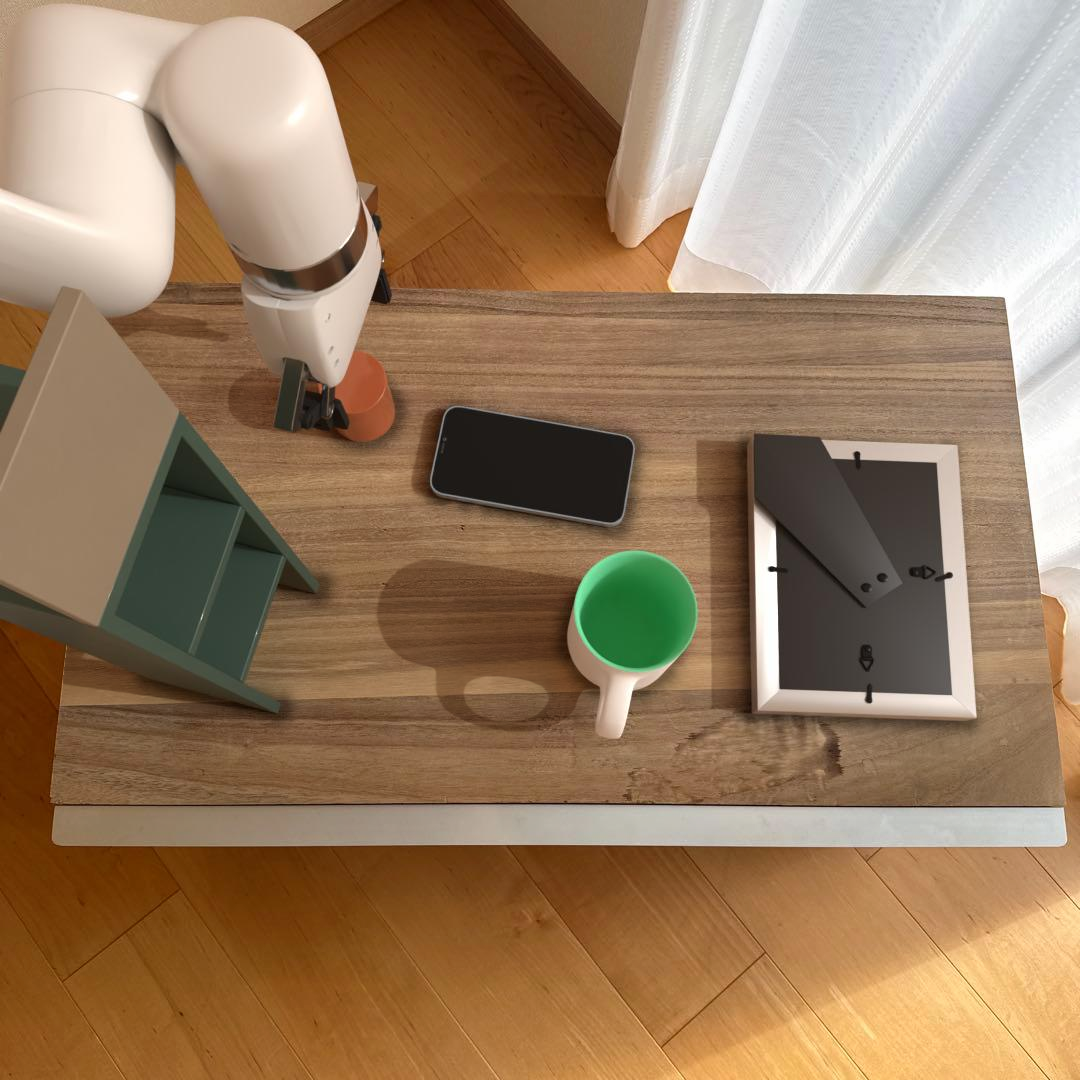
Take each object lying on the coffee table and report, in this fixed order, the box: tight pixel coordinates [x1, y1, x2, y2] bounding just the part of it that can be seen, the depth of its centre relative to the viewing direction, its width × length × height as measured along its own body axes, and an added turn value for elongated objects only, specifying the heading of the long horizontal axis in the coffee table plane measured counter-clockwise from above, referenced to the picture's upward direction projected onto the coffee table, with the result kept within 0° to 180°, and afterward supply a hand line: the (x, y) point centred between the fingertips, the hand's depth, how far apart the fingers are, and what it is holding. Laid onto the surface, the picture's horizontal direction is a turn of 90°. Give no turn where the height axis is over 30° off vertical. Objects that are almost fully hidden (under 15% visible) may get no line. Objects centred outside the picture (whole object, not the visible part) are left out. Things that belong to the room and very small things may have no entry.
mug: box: [566, 550, 699, 740], centre depth 75 cm, size 12×8×10 cm, turn 172°
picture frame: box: [746, 433, 978, 722], centre depth 81 cm, size 16×3×21 cm
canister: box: [317, 350, 396, 443], centre depth 82 cm, size 5×5×6 cm
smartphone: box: [429, 405, 636, 528], centre depth 84 cm, size 7×1×15 cm
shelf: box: [0, 286, 321, 715], centre depth 58 cm, size 10×10×46 cm
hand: (348, 357), depth 75 cm, fingers open, 9 cm apart
